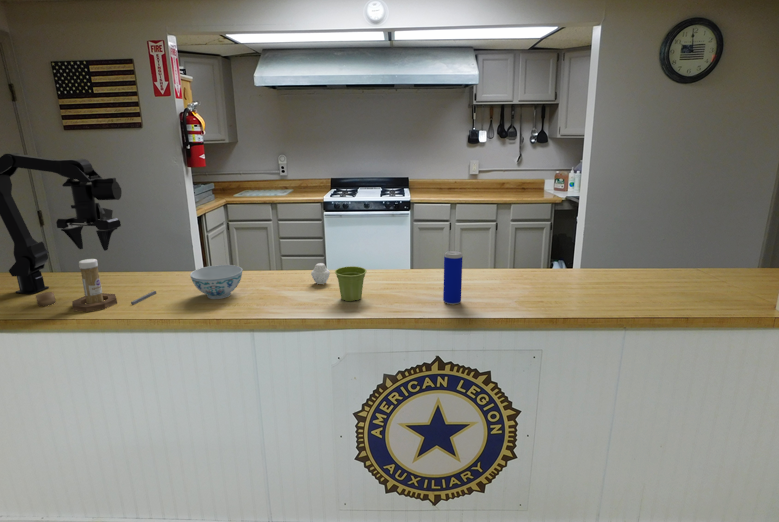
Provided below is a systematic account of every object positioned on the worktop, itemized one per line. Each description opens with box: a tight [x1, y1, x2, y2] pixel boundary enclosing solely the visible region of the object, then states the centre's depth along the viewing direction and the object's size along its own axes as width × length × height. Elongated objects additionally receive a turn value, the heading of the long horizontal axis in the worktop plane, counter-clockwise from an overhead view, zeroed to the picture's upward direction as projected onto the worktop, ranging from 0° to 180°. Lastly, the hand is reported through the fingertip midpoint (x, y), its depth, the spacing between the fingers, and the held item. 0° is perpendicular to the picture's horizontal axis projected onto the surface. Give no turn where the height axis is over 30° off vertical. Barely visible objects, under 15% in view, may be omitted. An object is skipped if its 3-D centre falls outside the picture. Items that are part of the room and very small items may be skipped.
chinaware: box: [189, 264, 243, 300], centre depth 146 cm, size 15×15×8 cm
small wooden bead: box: [35, 291, 57, 307], centre depth 141 cm, size 4×4×3 cm
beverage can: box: [442, 250, 463, 306], centre depth 138 cm, size 5×5×15 cm
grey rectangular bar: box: [130, 290, 157, 306], centre depth 145 cm, size 10×1×1 cm, turn 168°
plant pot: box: [334, 265, 367, 302], centre depth 143 cm, size 9×9×9 cm
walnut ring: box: [71, 292, 118, 313], centre depth 141 cm, size 11×11×2 cm
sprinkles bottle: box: [78, 258, 104, 304], centre depth 139 cm, size 5×5×14 cm
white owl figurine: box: [310, 262, 331, 285], centre depth 157 cm, size 6×6×7 cm
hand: (93, 249), depth 151 cm, fingers open, 9 cm apart
